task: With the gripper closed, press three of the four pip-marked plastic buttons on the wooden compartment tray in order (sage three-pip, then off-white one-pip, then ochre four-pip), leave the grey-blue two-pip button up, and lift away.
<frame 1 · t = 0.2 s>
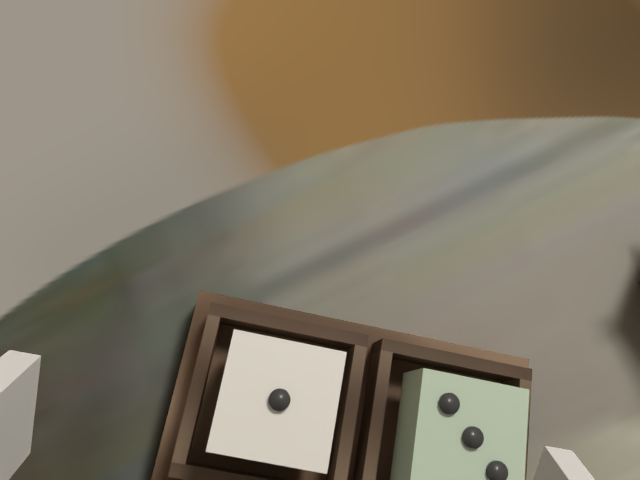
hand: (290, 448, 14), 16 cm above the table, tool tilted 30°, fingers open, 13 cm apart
button three: (459, 436, 26), point 5 cm above the table, slide at 0.0 cm
button one: (276, 400, 25), point 5 cm above the table, slide at 0.0 cm
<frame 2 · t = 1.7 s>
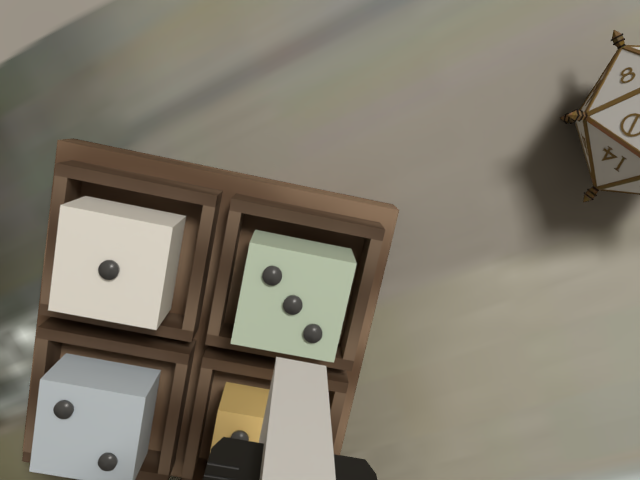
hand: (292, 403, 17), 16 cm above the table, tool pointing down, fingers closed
button three: (293, 294, 28), point 5 cm above the table, slide at 0.0 cm
game die: (611, 122, 32), on the table
button two: (97, 419, 29), point 5 cm above the table, slide at 0.0 cm
button four: (261, 447, 29), point 5 cm above the table, slide at 0.0 cm
wooden compartment tray: (209, 322, 33), on the table
button one: (119, 261, 27), point 5 cm above the table, slide at 0.0 cm
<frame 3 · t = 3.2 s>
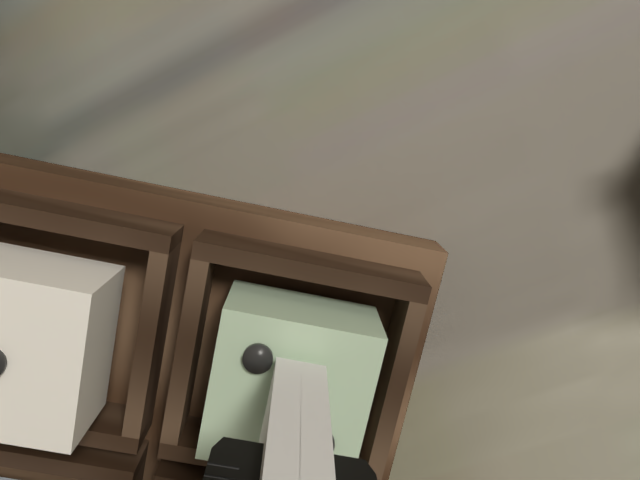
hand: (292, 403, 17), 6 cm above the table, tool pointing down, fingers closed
button three: (290, 379, 19), point 4 cm above the table, slide at 0.8 cm, touching gripper
wooden compartment tray: (171, 406, 23), on the table
button one: (15, 341, 17), point 5 cm above the table, slide at 0.0 cm
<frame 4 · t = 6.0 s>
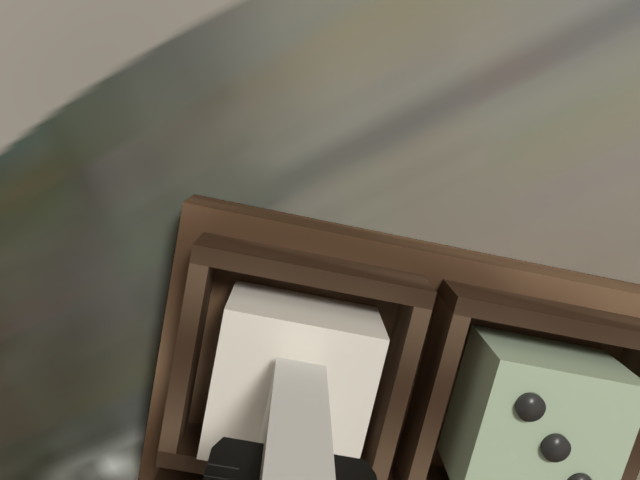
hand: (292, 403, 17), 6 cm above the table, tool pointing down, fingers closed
button three: (536, 422, 19), point 4 cm above the table, slide at 1.4 cm
wooden compartment tray: (374, 448, 23), on the table
button one: (292, 379, 19), point 4 cm above the table, slide at 1.3 cm, touching gripper
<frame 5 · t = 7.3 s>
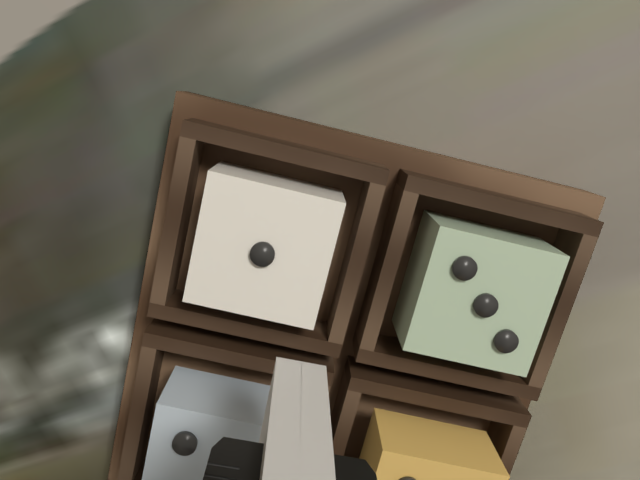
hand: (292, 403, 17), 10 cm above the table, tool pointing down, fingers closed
button three: (474, 291, 22), point 4 cm above the table, slide at 1.4 cm
button two: (217, 452, 22), point 5 cm above the table, slide at 0.0 cm
wooden compartment tray: (339, 328, 27), on the table
button one: (265, 243, 22), point 4 cm above the table, slide at 1.4 cm
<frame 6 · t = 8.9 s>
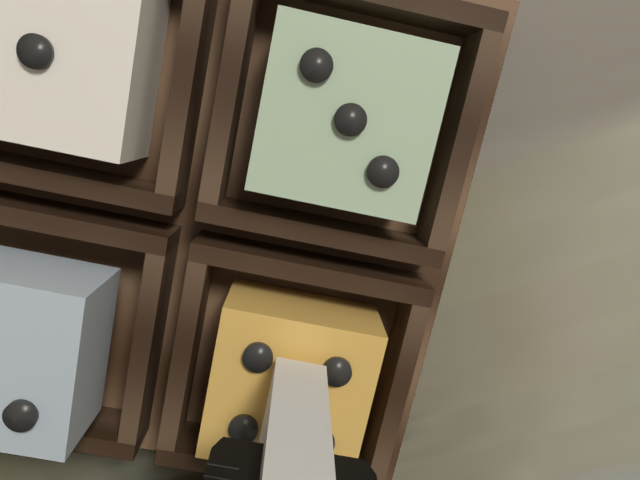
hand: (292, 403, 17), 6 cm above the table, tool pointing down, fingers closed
button three: (346, 119, 17), point 4 cm above the table, slide at 1.4 cm
button two: (8, 346, 17), point 5 cm above the table, slide at 0.0 cm
button four: (290, 378, 19), point 4 cm above the table, slide at 1.2 cm, touching gripper
wooden compartment tray: (203, 208, 21), on the table
button one: (59, 57, 16), point 4 cm above the table, slide at 1.4 cm
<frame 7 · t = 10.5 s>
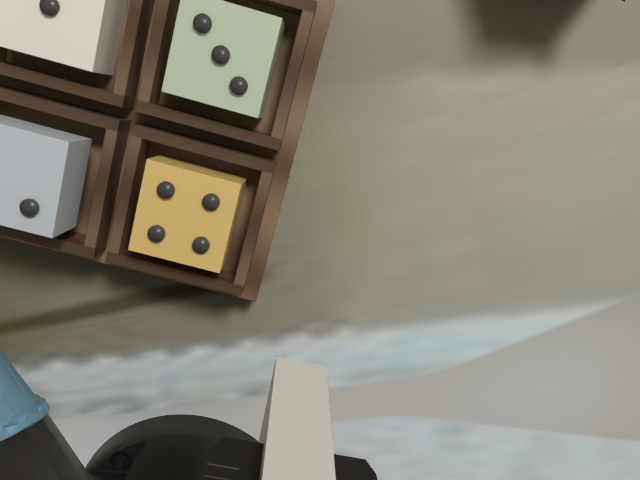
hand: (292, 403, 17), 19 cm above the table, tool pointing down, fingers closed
button three: (225, 57, 29), point 4 cm above the table, slide at 1.4 cm
button two: (23, 174, 29), point 5 cm above the table, slide at 0.0 cm
button four: (189, 212, 31), point 4 cm above the table, slide at 1.2 cm
wooden compartment tray: (148, 115, 34), on the table
button one: (62, 11, 29), point 4 cm above the table, slide at 1.4 cm
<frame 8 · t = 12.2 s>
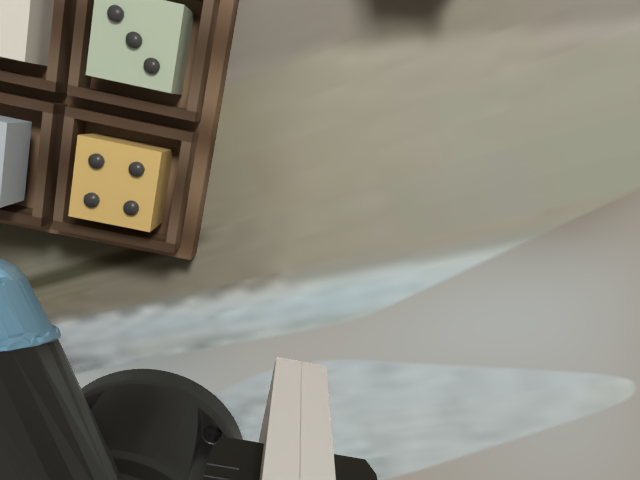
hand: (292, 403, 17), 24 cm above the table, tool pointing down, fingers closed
button three: (141, 43, 34), point 4 cm above the table, slide at 1.4 cm
button four: (121, 181, 36), point 4 cm above the table, slide at 1.2 cm
wooden compartment tray: (85, 100, 38), on the table
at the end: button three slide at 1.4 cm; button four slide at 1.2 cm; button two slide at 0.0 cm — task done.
